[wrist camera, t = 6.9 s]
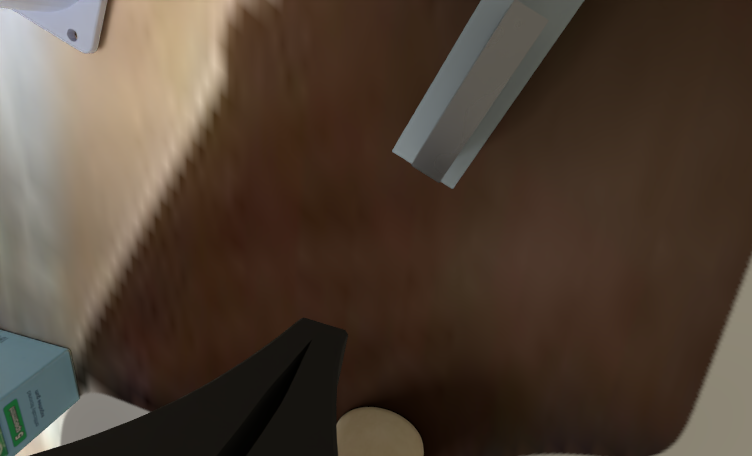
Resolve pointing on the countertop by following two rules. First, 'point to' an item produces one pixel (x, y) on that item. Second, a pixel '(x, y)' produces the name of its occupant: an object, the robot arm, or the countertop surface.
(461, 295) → the countertop surface
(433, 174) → the grey rectangular bar
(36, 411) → the gum box
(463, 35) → the box
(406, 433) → the candle
